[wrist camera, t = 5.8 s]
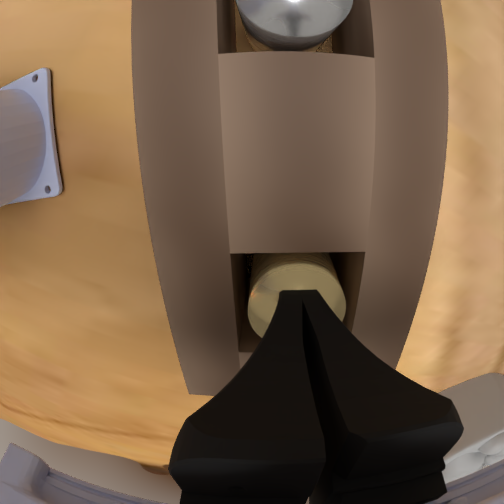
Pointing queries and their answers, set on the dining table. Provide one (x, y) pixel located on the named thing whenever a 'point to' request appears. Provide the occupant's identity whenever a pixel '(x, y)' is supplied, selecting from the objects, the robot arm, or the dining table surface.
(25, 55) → the dining table surface
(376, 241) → the walnut block
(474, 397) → the lumpy-topped squat cylinder
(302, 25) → the grey metal peg
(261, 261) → the brass peg
